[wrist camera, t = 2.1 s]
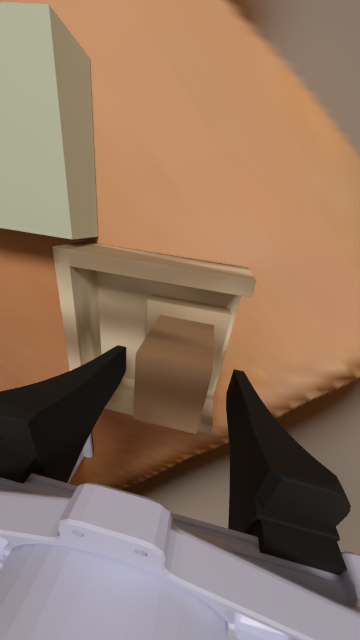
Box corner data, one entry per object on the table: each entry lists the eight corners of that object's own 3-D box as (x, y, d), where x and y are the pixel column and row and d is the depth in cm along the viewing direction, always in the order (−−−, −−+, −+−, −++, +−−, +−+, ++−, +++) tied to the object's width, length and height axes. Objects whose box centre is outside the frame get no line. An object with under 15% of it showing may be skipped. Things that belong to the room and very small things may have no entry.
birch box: (211, 401, 20) (210, 434, 17) (95, 375, 21) (74, 401, 18) (247, 267, 14) (256, 280, 11) (86, 241, 15) (52, 246, 12)
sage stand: (98, 236, 15) (72, 239, 12) (-12, 219, 16) (-59, 218, 13) (89, 57, 11) (48, 4, 8) (-57, 47, 12) (-137, -5, 9)
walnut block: (202, 378, 17) (196, 434, 12) (154, 368, 17) (133, 419, 13) (214, 325, 15) (213, 369, 10) (160, 314, 15) (135, 353, 10)
